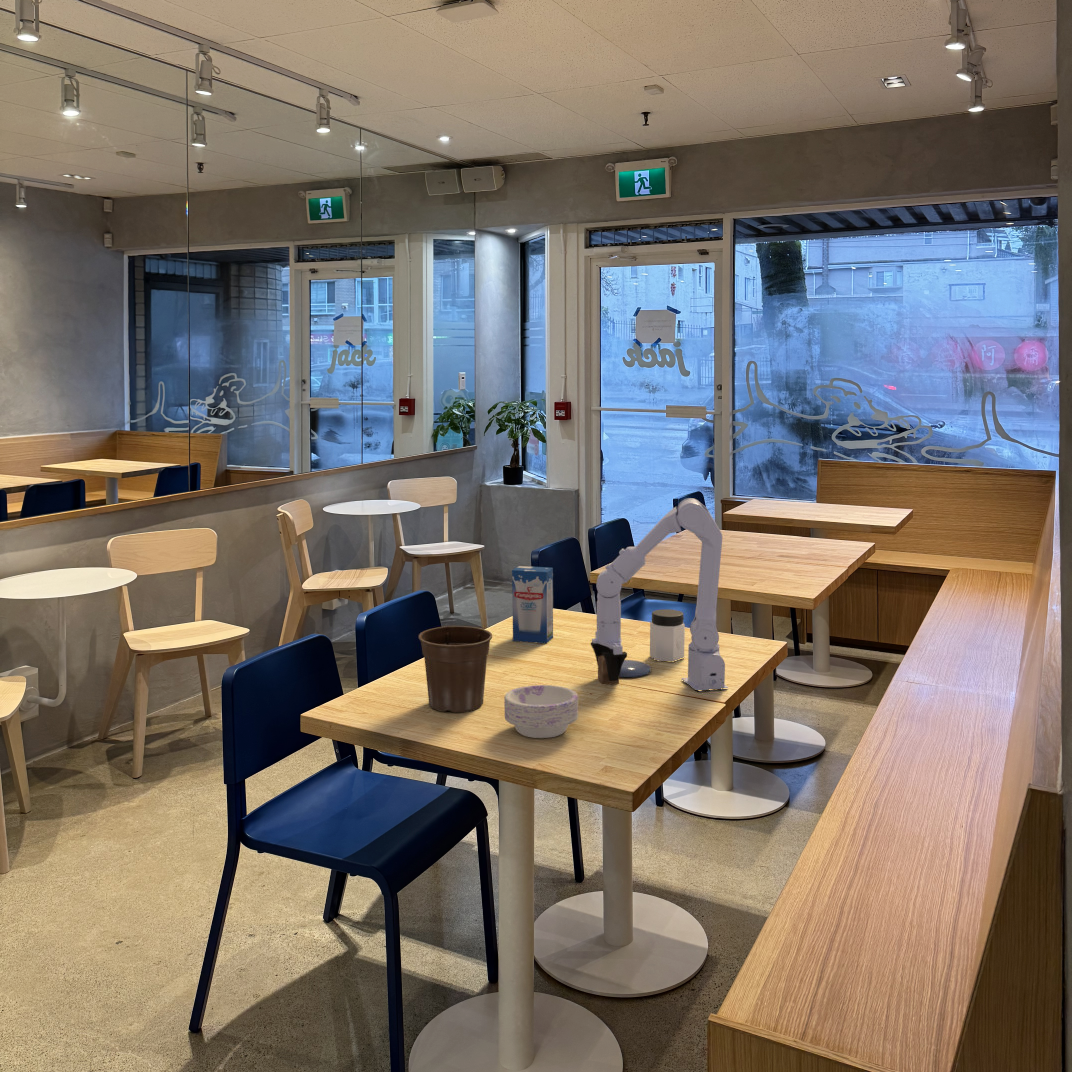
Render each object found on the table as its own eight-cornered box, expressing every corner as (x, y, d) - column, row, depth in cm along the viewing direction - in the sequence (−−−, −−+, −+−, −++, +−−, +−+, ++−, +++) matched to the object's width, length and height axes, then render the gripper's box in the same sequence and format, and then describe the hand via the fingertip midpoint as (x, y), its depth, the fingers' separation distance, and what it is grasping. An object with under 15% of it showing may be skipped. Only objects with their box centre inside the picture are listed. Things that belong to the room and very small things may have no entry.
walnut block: (619, 683, 237) (619, 659, 236) (603, 684, 236) (603, 660, 235) (613, 678, 241) (613, 654, 240) (597, 679, 240) (597, 655, 239)
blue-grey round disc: (657, 675, 243) (657, 671, 242) (610, 679, 240) (611, 675, 239) (640, 662, 254) (640, 658, 254) (595, 665, 251) (595, 662, 251)
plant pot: (508, 704, 222) (507, 634, 219) (451, 722, 211) (449, 648, 209) (462, 688, 234) (460, 622, 231) (406, 704, 223) (404, 634, 220)
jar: (668, 664, 252) (669, 618, 250) (643, 658, 258) (644, 613, 256) (690, 657, 258) (691, 612, 256) (665, 651, 264) (666, 607, 262)
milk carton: (512, 640, 275) (511, 570, 272) (519, 635, 281) (518, 565, 278) (547, 643, 272) (546, 571, 269) (553, 637, 278) (553, 567, 275)
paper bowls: (536, 713, 216) (535, 678, 215) (592, 728, 207) (592, 692, 206) (489, 733, 205) (488, 696, 203) (547, 750, 195) (546, 711, 194)
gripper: (583, 614, 242) (583, 668, 244) (602, 629, 228) (601, 686, 230) (611, 612, 244) (610, 666, 246) (631, 627, 230) (630, 683, 232)
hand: (608, 675), depth 238 cm, fingers open, 7 cm apart
